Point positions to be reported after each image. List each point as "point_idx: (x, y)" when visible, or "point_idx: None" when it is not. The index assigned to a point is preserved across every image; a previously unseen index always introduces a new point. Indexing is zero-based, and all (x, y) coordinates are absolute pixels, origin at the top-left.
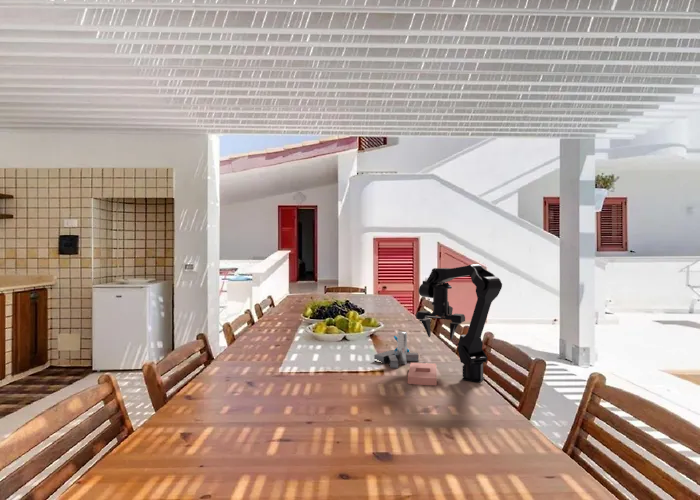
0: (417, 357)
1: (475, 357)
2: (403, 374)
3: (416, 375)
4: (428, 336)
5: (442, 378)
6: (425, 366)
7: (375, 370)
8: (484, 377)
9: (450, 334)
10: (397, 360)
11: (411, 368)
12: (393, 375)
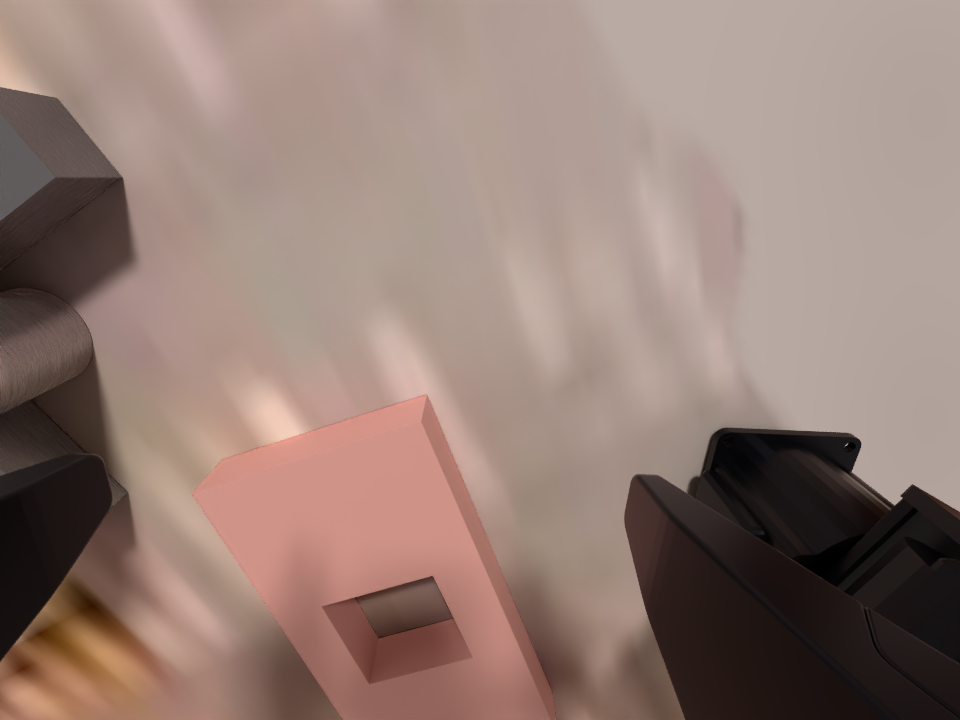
0: (75, 183)
1: (914, 507)
2: (264, 603)
3: None
4: (86, 516)
5: (545, 564)
6: (373, 545)
7: (40, 611)
8: (859, 448)
9: (681, 668)
10: None
11: (304, 637)
12: (223, 647)
